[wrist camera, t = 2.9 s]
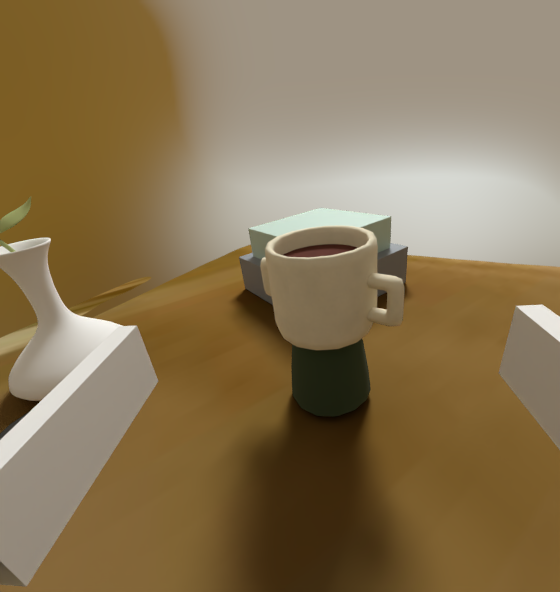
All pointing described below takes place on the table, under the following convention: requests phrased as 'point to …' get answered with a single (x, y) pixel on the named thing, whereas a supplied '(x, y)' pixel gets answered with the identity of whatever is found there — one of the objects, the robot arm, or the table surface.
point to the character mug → (329, 311)
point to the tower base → (383, 267)
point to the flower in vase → (45, 318)
